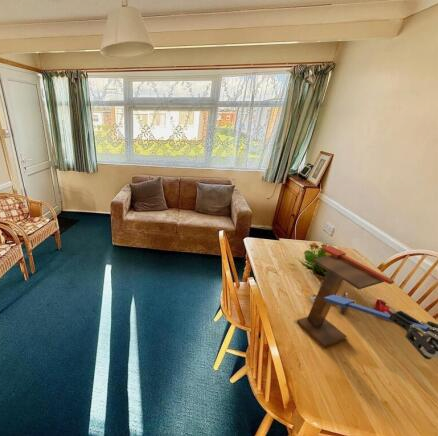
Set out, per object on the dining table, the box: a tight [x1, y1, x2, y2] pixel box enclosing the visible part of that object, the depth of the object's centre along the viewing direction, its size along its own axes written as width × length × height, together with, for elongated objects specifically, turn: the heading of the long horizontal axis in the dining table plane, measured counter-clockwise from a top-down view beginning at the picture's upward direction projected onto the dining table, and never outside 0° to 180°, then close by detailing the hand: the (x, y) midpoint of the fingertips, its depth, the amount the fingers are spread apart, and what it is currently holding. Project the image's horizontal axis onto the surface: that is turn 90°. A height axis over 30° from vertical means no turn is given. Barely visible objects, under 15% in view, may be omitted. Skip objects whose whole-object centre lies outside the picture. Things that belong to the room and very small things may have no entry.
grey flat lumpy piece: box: [309, 294, 317, 304], centre depth 109 cm, size 7×8×2 cm
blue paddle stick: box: [324, 294, 430, 331], centre depth 63 cm, size 22×4×1 cm, turn 17°
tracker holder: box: [374, 297, 397, 315], centre depth 102 cm, size 12×4×10 cm
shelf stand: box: [296, 255, 385, 348], centre depth 88 cm, size 16×14×32 cm
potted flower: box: [298, 242, 342, 280], centre depth 123 cm, size 25×24×18 cm
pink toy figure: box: [340, 290, 349, 315], centre depth 106 cm, size 7×5×9 cm
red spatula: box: [321, 245, 395, 285], centre depth 83 cm, size 22×4×1 cm, turn 17°
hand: (394, 314), depth 58 cm, fingers closed on blue paddle stick, 1 cm apart
